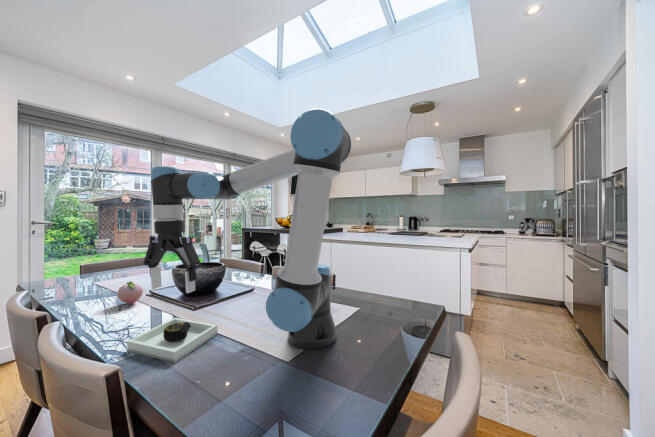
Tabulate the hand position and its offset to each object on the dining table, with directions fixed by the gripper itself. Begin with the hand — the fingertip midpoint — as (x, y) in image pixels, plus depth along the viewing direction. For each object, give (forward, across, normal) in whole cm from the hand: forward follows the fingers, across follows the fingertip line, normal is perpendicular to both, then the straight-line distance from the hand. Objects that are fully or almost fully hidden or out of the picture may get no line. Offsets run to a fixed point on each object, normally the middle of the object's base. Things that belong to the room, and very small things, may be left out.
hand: (173, 289), depth 80 cm
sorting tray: (+16, 0, 0) cm, 17 cm away
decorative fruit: (+16, +44, -17) cm, 50 cm away
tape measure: (+16, 0, -1) cm, 16 cm away
